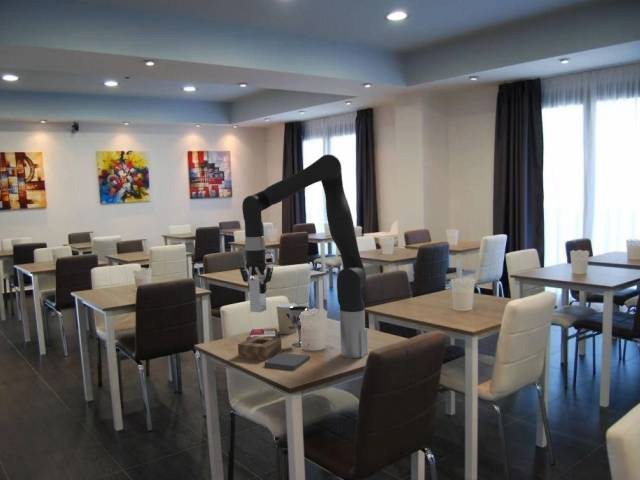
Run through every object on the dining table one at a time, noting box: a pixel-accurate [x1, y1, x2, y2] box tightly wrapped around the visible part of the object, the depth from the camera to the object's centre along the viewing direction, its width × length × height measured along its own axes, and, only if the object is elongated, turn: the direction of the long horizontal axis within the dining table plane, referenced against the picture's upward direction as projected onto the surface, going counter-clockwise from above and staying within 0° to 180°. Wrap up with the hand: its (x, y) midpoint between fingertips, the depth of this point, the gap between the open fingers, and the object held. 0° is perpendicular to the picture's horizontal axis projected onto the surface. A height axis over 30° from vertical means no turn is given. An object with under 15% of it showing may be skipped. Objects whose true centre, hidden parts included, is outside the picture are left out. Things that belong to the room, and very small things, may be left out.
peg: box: [248, 278, 267, 313], centre depth 203 cm, size 4×4×12 cm
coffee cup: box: [276, 302, 298, 335], centre depth 236 cm, size 9×9×12 cm
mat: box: [264, 352, 311, 371], centre depth 193 cm, size 12×12×2 cm
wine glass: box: [289, 305, 310, 348], centre depth 215 cm, size 8×8×15 cm
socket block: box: [237, 336, 283, 361], centre depth 205 cm, size 12×12×5 cm
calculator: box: [248, 327, 278, 339], centre depth 224 cm, size 11×4×15 cm
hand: (257, 293), depth 203 cm, fingers closed on peg, 4 cm apart
